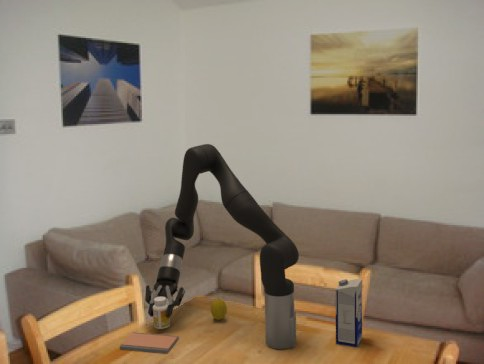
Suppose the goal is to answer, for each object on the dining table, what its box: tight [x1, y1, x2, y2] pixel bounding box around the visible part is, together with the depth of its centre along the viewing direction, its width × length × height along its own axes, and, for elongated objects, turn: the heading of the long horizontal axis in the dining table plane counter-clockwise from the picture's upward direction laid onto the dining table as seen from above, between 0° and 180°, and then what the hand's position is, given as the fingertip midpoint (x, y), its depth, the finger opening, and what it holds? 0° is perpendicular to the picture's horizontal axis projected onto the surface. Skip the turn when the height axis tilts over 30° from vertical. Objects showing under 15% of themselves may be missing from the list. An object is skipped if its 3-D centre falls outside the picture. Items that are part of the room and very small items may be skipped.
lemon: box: [210, 298, 228, 321], centre depth 192 cm, size 6×6×8 cm
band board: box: [119, 332, 180, 354], centre depth 177 cm, size 16×10×1 cm, turn 76°
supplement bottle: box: [152, 297, 171, 330], centre depth 185 cm, size 5×5×10 cm
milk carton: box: [334, 278, 363, 348], centre depth 172 cm, size 7×7×20 cm
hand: (159, 316), depth 184 cm, fingers closed on supplement bottle, 5 cm apart
